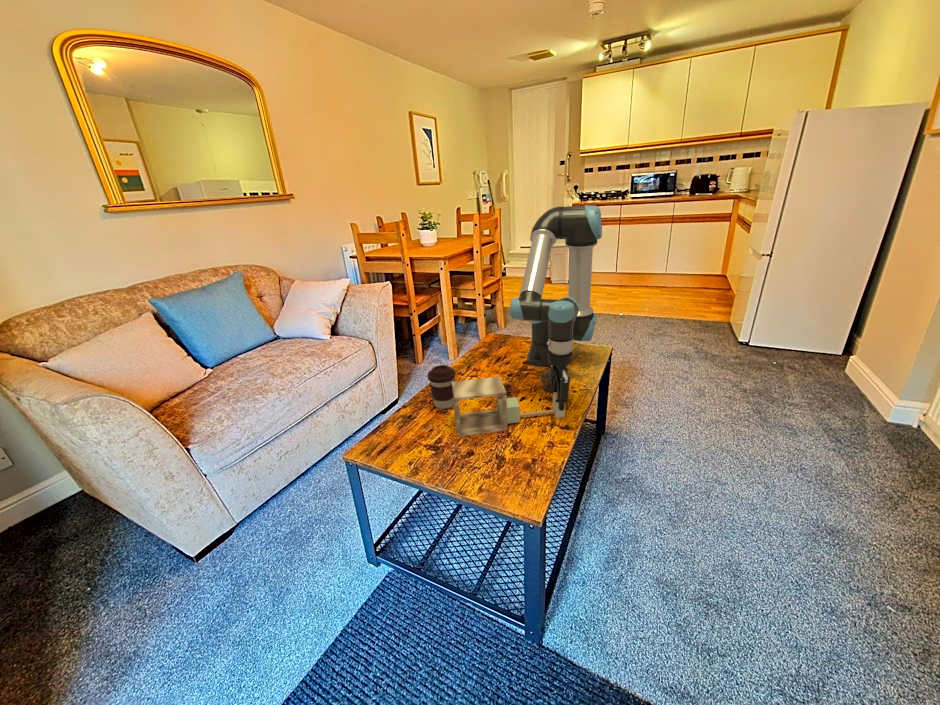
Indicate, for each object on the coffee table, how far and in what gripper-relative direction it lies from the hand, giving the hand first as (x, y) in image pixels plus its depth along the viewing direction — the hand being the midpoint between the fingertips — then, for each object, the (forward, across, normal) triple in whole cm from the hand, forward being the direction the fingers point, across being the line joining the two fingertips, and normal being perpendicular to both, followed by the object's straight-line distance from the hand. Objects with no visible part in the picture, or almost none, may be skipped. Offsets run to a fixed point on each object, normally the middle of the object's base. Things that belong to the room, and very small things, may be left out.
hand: (558, 414), depth 133 cm
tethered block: (0, 0, -9) cm, 9 cm away
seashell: (+1, -19, +4) cm, 20 cm away
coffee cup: (+1, -16, -38) cm, 41 cm away
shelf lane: (+1, 0, -27) cm, 27 cm away
